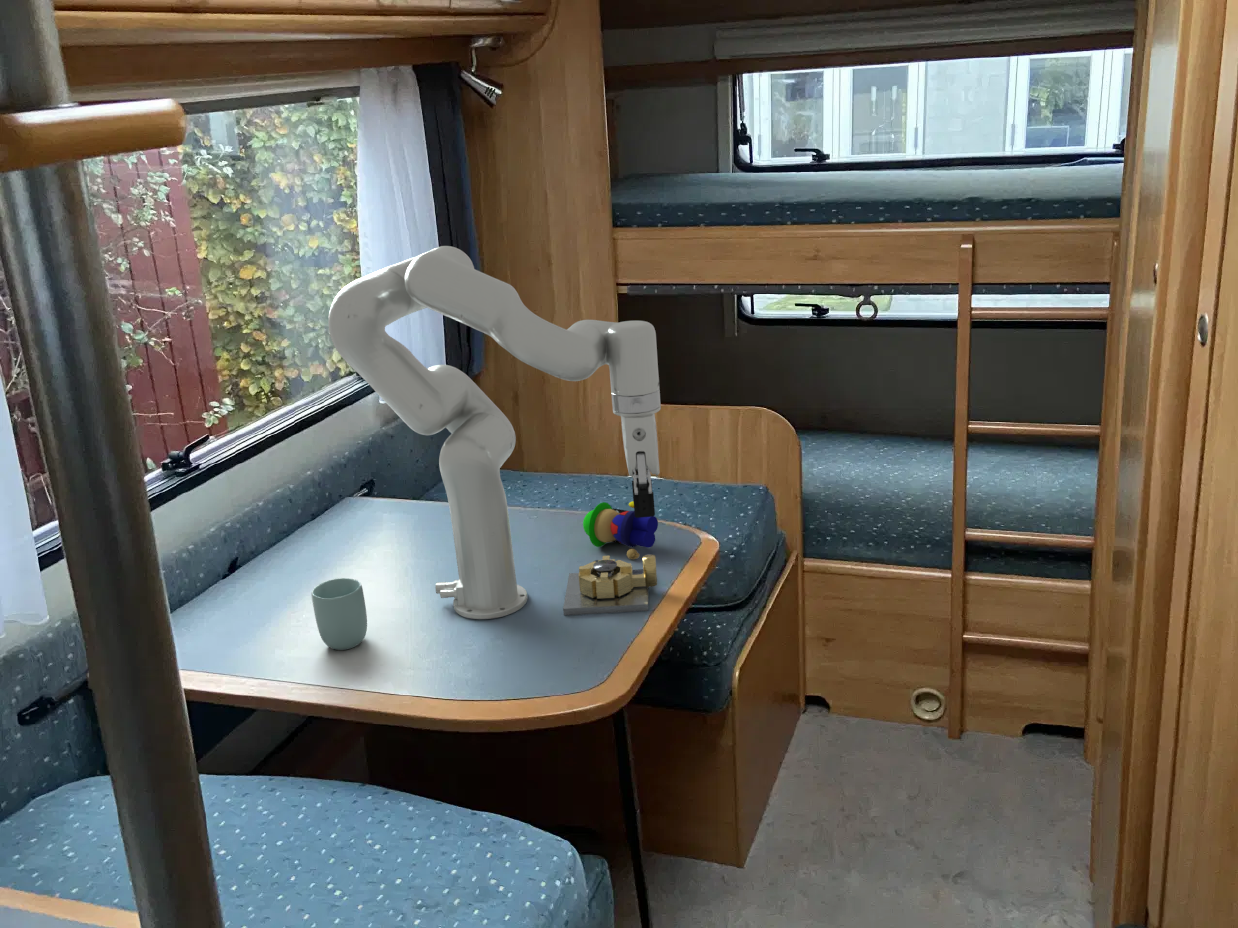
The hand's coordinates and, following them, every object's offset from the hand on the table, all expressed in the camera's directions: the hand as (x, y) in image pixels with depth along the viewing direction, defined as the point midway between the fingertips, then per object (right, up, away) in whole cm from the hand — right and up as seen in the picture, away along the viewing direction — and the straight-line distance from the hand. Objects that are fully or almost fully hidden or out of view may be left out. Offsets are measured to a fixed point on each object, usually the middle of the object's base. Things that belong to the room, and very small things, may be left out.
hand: (644, 508), depth 181 cm
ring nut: (-4, -14, +11) cm, 18 cm away
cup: (-48, -22, +1) cm, 53 cm away
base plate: (-6, -15, +11) cm, 20 cm away
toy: (-3, -9, +30) cm, 31 cm away
